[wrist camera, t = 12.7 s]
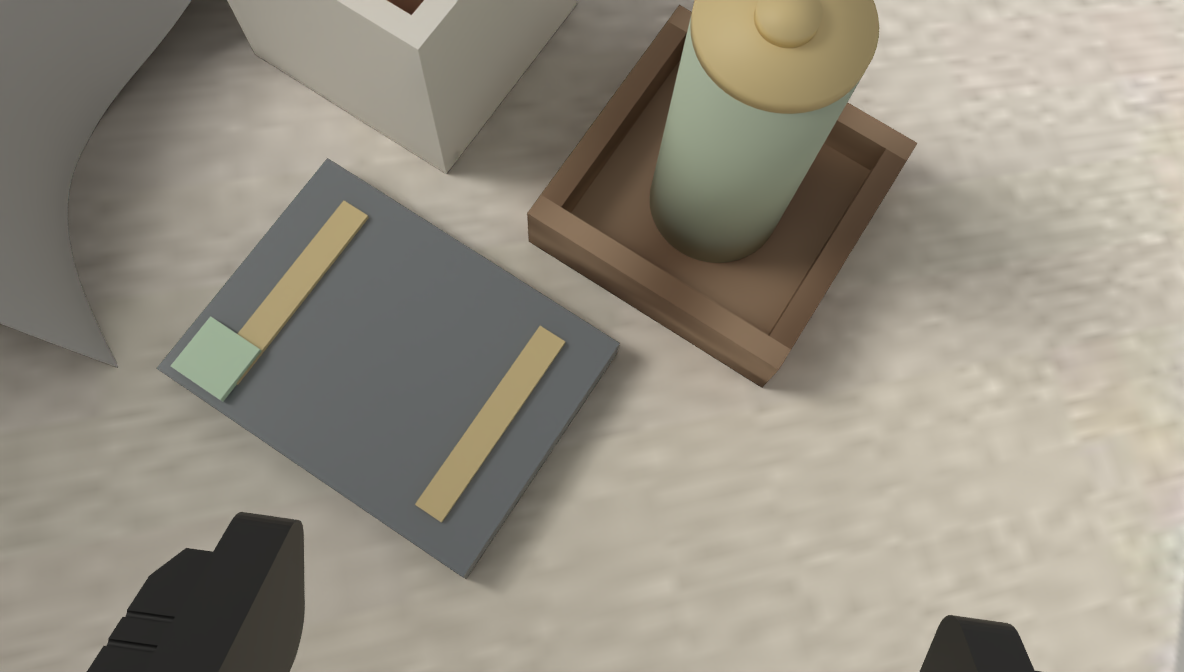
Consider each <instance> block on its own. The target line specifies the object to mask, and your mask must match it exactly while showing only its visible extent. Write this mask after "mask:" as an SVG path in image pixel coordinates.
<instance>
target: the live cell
mask: <svg viewBox="0 0 1184 672" xmlns="http://www.w3.org/2000/svg"><path fill="white" fill-rule="evenodd" d="M878 38H879V21H878V14H877V10H876V6H875V3H874V1H873V0H695V1H694V5H693V10H692V14H691V18H690V22H689V27H688V31H687V35H686V39H685V44H684V48H683V52H682V56H681V61H680V65H679V69H678V74H677V78H676V82H675V86H674V91H673V95H672V99H671V103H670V108H669V112H668V116H667V121H666V125H665V129H664V133H663V138H662V142H661V146H660V150H659V155H658V159H657V163H656V167H655V172H654V176H653V180H652V185H651V189H650V209H651V214H652V217H653V220H654V223H655V225H656V227H657V229H658V230H659V232H660V233H661V235H662V236H663V237H664V238H665V240H666V241H667V242H668V243H669V244H670V245H671V246H673V247H674V248H675V249H677V250H678V251H679V252H681V253H683V254H685V255H686V256H688V257H691V258H693V259H696V260H700V261H704V262H711V263H725V262H732V261H736V260H739V259H742V258H745V257H747V256H749V255H750V254H752V253H754V252H755V251H757V250H758V249H759V248H761V247H762V246H763V245H764V244H765V243H766V241H767V240H768V239H769V237H770V236H771V234H772V233H773V231H774V229H775V228H776V226H777V224H778V222H779V221H780V219H781V217H782V215H783V214H784V212H785V210H786V208H787V207H788V205H789V203H790V201H791V200H792V198H793V196H794V194H795V193H796V191H797V189H798V187H799V186H800V184H801V182H802V180H803V179H804V177H805V175H806V174H807V172H808V170H809V168H810V167H811V165H812V163H813V161H814V160H815V158H816V156H817V154H818V153H819V151H820V149H821V147H822V146H823V144H824V142H825V140H826V139H827V137H828V135H829V133H830V132H831V130H832V128H833V126H834V125H835V123H836V121H837V120H838V118H839V116H840V114H841V113H842V111H843V109H844V107H845V106H846V104H847V102H848V100H849V99H850V97H851V95H852V93H853V92H854V90H855V88H856V86H857V85H858V83H859V81H860V79H861V78H862V76H863V74H864V72H865V71H866V69H867V67H868V65H869V64H870V62H871V60H872V58H873V56H874V53H875V50H876V48H877V43H878Z"/></svg>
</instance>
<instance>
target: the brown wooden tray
mask: <svg viewBox="0 0 1184 672" xmlns="http://www.w3.org/2000/svg"><path fill="white" fill-rule="evenodd" d="M691 14H692V12H691V11H689V10H687V9H686V8H684V7H682V6H680V5H679V6H678V7H677V9H676V10H675V12H674V13H673V14H672V16H671V17H670V18H669V20H668V21H667V23H666V24H665V25H664V27H663V28H662V29H661V31H660V32H659V33H658V35H657V36H656V38H655V39H654V40H653V42H652V43H651V44H650V46H649V47H648V49H647V50H646V51H645V53H644V54H643V55H642V57H641V58H640V60H639V61H638V62H637V64H636V65H635V66H634V68H633V69H632V70H631V72H630V73H629V75H628V76H627V77H626V79H625V80H624V81H623V83H622V84H621V86H620V87H619V88H618V90H617V91H616V92H615V94H614V95H613V96H612V98H611V99H610V101H609V102H608V103H607V105H606V106H605V107H604V109H603V110H602V112H601V113H600V114H599V116H598V117H597V118H596V120H595V121H594V123H593V124H592V125H591V127H590V128H589V129H588V131H587V132H586V133H585V135H584V136H583V138H582V139H581V140H580V142H579V143H578V144H577V146H576V147H575V149H574V150H573V151H572V153H571V154H570V155H569V157H568V158H567V159H566V161H565V162H564V164H563V165H562V166H561V168H560V169H559V170H558V172H557V173H556V175H555V176H554V177H553V179H552V180H551V181H550V183H549V184H548V186H547V187H546V188H545V190H544V191H543V192H542V194H541V195H540V196H539V198H538V199H537V201H536V202H535V203H534V205H533V206H532V207H531V209H530V210H529V212H528V213H527V217H528V236H529V242H531V243H532V244H534V245H535V246H537V247H539V248H540V249H542V250H543V251H545V252H547V253H548V254H550V255H551V256H553V257H554V258H556V259H558V260H559V261H561V262H562V263H564V264H566V265H567V266H569V267H570V268H572V269H574V270H575V271H577V272H578V273H580V274H582V275H583V276H585V277H586V278H588V279H590V280H591V281H593V282H594V283H596V284H598V285H599V286H601V287H602V288H604V289H605V290H607V291H609V292H610V293H612V294H613V295H615V296H617V297H618V298H620V299H621V300H623V301H625V302H626V303H628V304H629V305H631V306H633V307H634V308H636V309H637V310H639V311H641V312H642V313H644V314H645V315H647V316H649V317H650V318H652V319H653V320H655V321H657V322H658V323H660V324H661V325H663V326H664V327H666V328H668V329H669V330H671V331H672V332H674V333H676V334H677V335H679V336H680V337H682V338H684V339H685V340H687V341H688V342H690V343H692V344H693V345H695V346H696V347H698V348H700V349H701V350H703V351H704V352H706V353H708V354H709V355H711V356H712V357H714V358H716V359H717V360H719V361H720V362H722V363H723V364H725V365H727V366H728V367H730V368H731V369H733V370H735V371H736V372H738V373H739V374H741V375H743V376H744V377H746V378H747V379H749V380H751V381H752V382H754V383H755V384H757V385H759V386H760V387H763V386H764V385H765V384H766V383H767V382H768V381H769V380H770V379H771V378H772V376H773V375H774V374H775V373H776V372H777V371H778V370H779V368H780V367H781V365H782V363H783V362H784V360H785V359H786V357H787V355H788V354H789V352H790V350H791V349H792V347H793V345H794V344H795V342H796V341H797V339H798V337H799V336H800V334H801V332H802V331H803V329H804V328H805V326H806V324H807V323H808V321H809V319H810V318H811V316H812V314H813V313H814V311H815V310H816V308H817V306H818V305H819V303H820V301H821V300H822V298H823V297H824V295H825V293H826V292H827V290H828V288H829V287H830V285H831V283H832V282H833V280H834V279H835V277H836V275H837V274H838V272H839V270H840V269H841V267H842V265H843V264H844V262H845V261H846V259H847V257H848V256H849V254H850V252H851V251H852V249H853V248H854V246H855V244H856V243H857V241H858V239H859V238H860V236H861V234H862V233H863V231H864V230H865V228H866V226H867V225H868V223H869V221H870V220H871V218H872V217H873V215H874V213H875V212H876V210H877V208H878V207H879V205H880V203H881V202H882V200H883V199H884V197H885V195H886V194H887V192H888V190H889V189H890V187H891V185H892V184H893V182H894V181H895V179H896V177H897V176H898V174H899V172H900V171H901V169H902V168H903V166H904V164H905V163H906V161H907V159H908V158H909V156H910V154H911V153H912V151H913V150H914V148H915V146H916V145H917V143H916V142H915V141H913V140H911V139H909V138H908V137H906V136H904V135H903V134H901V133H899V132H897V131H896V130H894V129H892V128H891V127H889V126H887V125H885V124H884V123H882V122H880V121H878V120H877V119H875V118H873V117H872V116H870V115H868V114H866V113H865V112H863V111H861V110H860V109H858V108H856V107H854V106H853V105H851V104H849V103H847V104H846V106H845V107H844V109H843V111H842V113H841V114H840V116H839V118H838V120H837V121H836V123H835V125H834V126H833V128H832V130H831V132H830V133H829V135H828V137H827V139H826V140H825V142H824V144H823V146H822V147H821V149H820V151H819V153H818V154H817V156H816V158H815V160H814V161H813V163H812V165H811V167H810V168H809V170H808V172H807V174H806V175H805V177H804V179H803V180H802V182H801V184H800V186H799V187H798V189H797V191H796V193H795V194H794V196H793V198H792V200H791V201H790V203H789V205H788V207H787V208H786V210H785V212H784V214H783V215H782V217H781V219H780V221H779V222H778V224H777V226H776V228H775V229H774V231H773V233H772V234H771V236H770V237H769V239H768V240H767V241H766V243H765V244H764V245H763V246H762V247H761V248H759V249H758V250H757V251H755V252H754V253H752V254H750V255H749V256H747V257H745V258H742V259H739V260H736V261H732V262H725V263H711V262H704V261H700V260H696V259H693V258H691V257H688V256H686V255H685V254H683V253H681V252H679V251H678V250H677V249H675V248H674V247H673V246H671V245H670V244H669V243H668V242H667V241H666V240H665V238H664V237H663V236H662V235H661V233H660V232H659V230H658V229H657V227H656V225H655V223H654V220H653V217H652V214H651V209H650V189H651V185H652V180H653V176H654V172H655V167H656V163H657V159H658V155H659V150H660V146H661V142H662V138H663V133H664V129H665V125H666V121H667V116H668V112H669V108H670V103H671V99H672V95H673V91H674V86H675V82H676V78H677V74H678V69H679V65H680V61H681V56H682V52H683V48H684V44H685V39H686V35H687V31H688V27H689V22H690V18H691Z"/></svg>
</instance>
